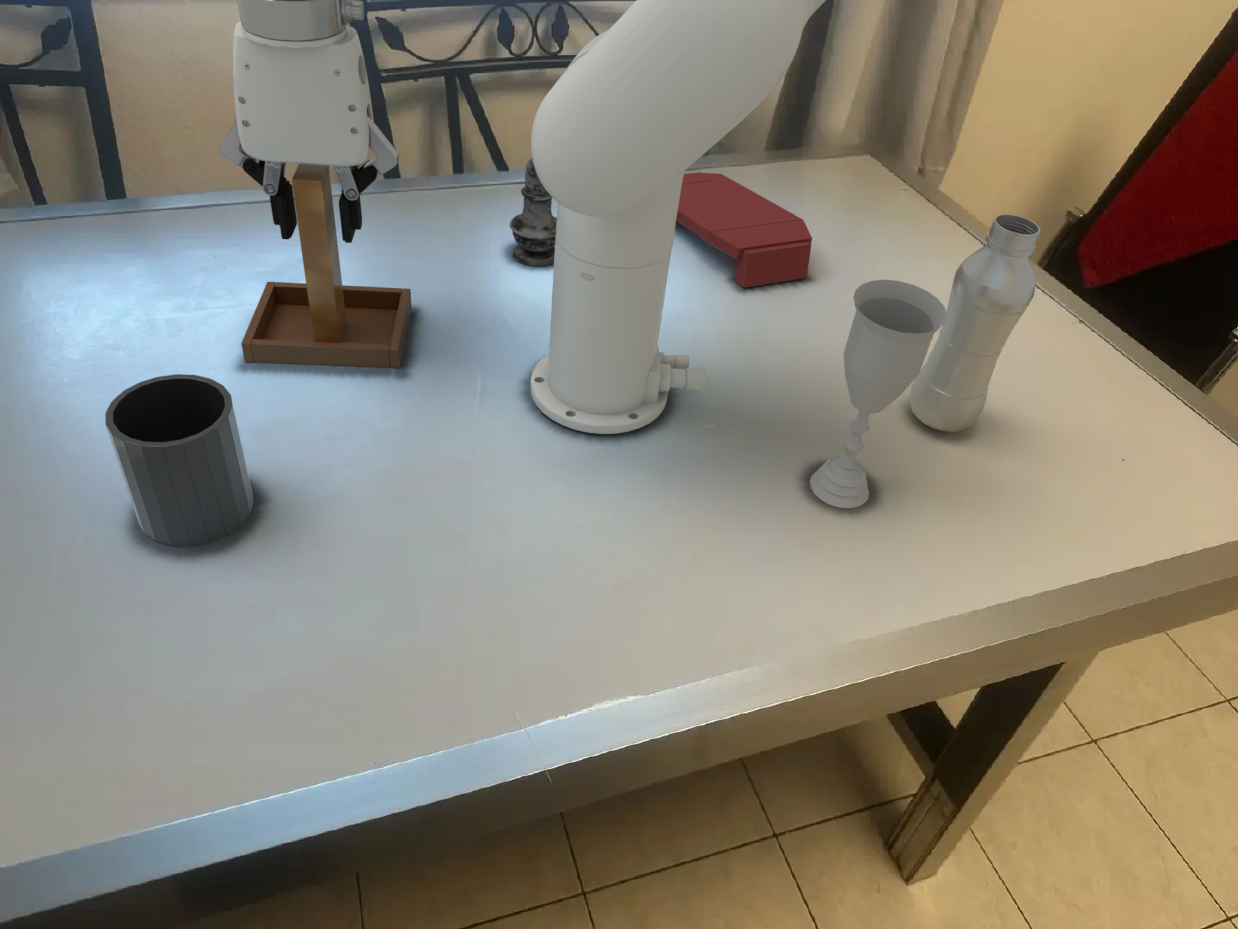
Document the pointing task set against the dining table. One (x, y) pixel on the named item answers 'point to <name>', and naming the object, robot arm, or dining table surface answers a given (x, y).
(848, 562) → the dining table surface
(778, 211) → the red chamfered block
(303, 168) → the wooden block
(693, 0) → the robot arm
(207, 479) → the cup
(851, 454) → the chalice
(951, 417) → the plastic bottle
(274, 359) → the tray
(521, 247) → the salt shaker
